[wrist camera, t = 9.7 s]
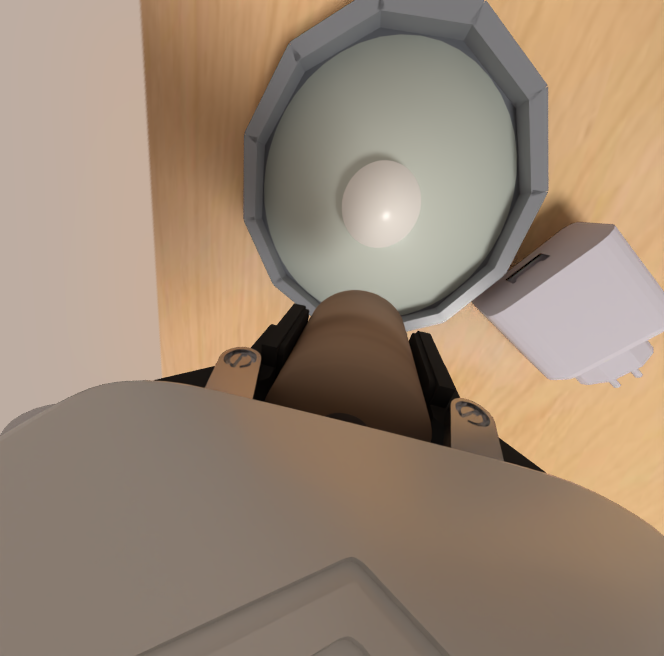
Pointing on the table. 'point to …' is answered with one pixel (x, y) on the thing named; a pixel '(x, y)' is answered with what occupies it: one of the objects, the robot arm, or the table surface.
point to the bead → (355, 368)
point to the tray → (397, 157)
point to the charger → (579, 306)
